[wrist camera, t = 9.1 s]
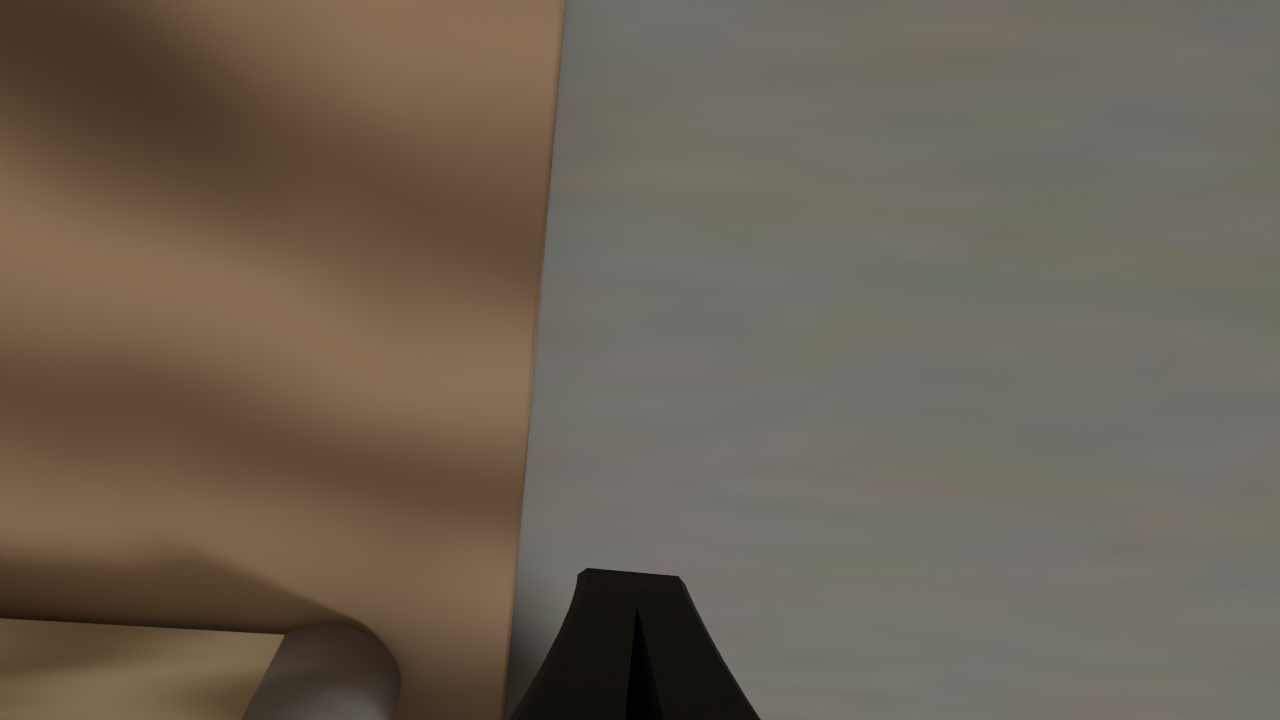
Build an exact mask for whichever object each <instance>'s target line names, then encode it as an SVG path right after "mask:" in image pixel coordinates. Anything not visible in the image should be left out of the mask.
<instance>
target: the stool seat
mask: <svg viewBox="0 0 1280 720" xmlns="http://www.w3.org/2000/svg"><path fill="white" fill-rule="evenodd" d="M565 4H566V0H0V618H3V619H20V620H37V621H55V622H72V623H89V624H106V625H124V626H141V627H158V628H175V629H192V630H210V631H227V632H244V633H261V634H279V635H286V634H287V633H289V632H291V631H293V630H295V629H297V628H300V627H303V626H308V625H312V624H338V625H343V626H348V627H351V628H354V629H357V630H360V631H362V632H364V633H366V634H368V635H370V636H371V637H373V638H375V639H376V640H377V641H379V642H380V643H381V644H382V645H383V646H384V647H385V648H386V649H387V650H388V651H389V652H390V654H391V655H392V656H393V658H394V660H395V661H396V663H397V666H398V668H399V672H400V676H401V689H400V693H399V697H398V700H397V703H396V706H395V709H394V713H393V716H392V719H391V720H504V714H505V702H506V691H507V679H508V667H509V656H510V644H511V632H512V621H513V609H514V598H515V586H516V574H517V563H518V551H519V539H520V528H521V516H522V505H523V493H524V481H525V470H526V458H527V446H528V435H529V423H530V411H531V400H532V388H533V377H534V365H535V353H536V342H537V330H538V318H539V307H540V295H541V284H542V272H543V260H544V249H545V237H546V225H547V214H548V202H549V191H550V179H551V167H552V156H553V144H554V132H555V121H556V109H557V97H558V86H559V74H560V63H561V51H562V39H563V28H564V16H565Z"/></svg>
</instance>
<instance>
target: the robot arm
mask: <svg viewBox="0 0 1280 720" xmlns="http://www.w3.org/2000/svg"><path fill="white" fill-rule="evenodd" d="M509 720H761V719H760V718H759V716H758V715H757V713H756V712H755V710H754V709H753V707H752V706H751V704H750V703H749V701H748V700H747V698H746V697H745V695H744V693H743V692H742V690H741V688H740V687H739V685H738V683H737V682H736V680H735V678H734V677H733V675H732V674H731V672H730V670H729V669H728V667H727V665H726V664H725V662H724V660H723V659H722V657H721V655H720V653H719V651H718V650H717V648H716V646H715V644H714V642H713V641H712V639H711V637H710V635H709V633H708V631H707V629H706V627H705V626H704V624H703V622H702V620H701V618H700V616H699V614H698V612H697V610H696V607H695V605H694V603H693V601H692V599H691V597H690V595H689V592H688V590H687V588H686V585H685V584H684V582H683V581H682V580H681V579H680V578H679V576H670V575H659V574H648V573H637V572H626V571H615V570H604V569H593V568H587V569H585V570H584V571H582V572H581V573H579V574H578V577H577V585H576V589H575V592H574V596H573V599H572V602H571V605H570V608H569V610H568V613H567V615H566V617H565V620H564V622H563V624H562V627H561V629H560V631H559V633H558V635H557V637H556V639H555V641H554V643H553V645H552V647H551V649H550V651H549V653H548V655H547V657H546V659H545V661H544V663H543V665H542V666H541V668H540V670H539V672H538V674H537V675H536V677H535V679H534V680H533V682H532V684H531V685H530V687H529V688H528V690H527V692H526V693H525V695H524V696H523V698H522V700H521V701H520V703H519V705H518V706H517V708H516V709H515V711H514V713H513V714H512V716H511V717H510V719H509Z"/></svg>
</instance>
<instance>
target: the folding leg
mask: <svg viewBox="0 0 1280 720" xmlns="http://www.w3.org/2000/svg"><path fill="white" fill-rule="evenodd" d="M400 689H401V676H400V672H399V668H398V666H397V663H396V661H395V660H394V658H393V656H392V655H391V654H390V652H389V651H388V650H387V649H386V648H385V647H384V646H383V645H382V644H381V643H380V642H379V641H377V640H376V639H375V638H373V637H371V636H370V635H368V634H366V633H364V632H362V631H360V630H357V629H354V628H351V627H348V626H343V625H338V624H312V625H308V626H303V627H300V628H297V629H295V630H293V631H291V632H289V633H287V634H286V635H279V634H261V633H244V632H227V631H210V630H192V629H175V628H158V627H141V626H124V625H106V624H89V623H72V622H55V621H37V620H20V619H3V618H0V720H391V719H392V716H393V713H394V709H395V706H396V703H397V700H398V697H399V693H400Z"/></svg>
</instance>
